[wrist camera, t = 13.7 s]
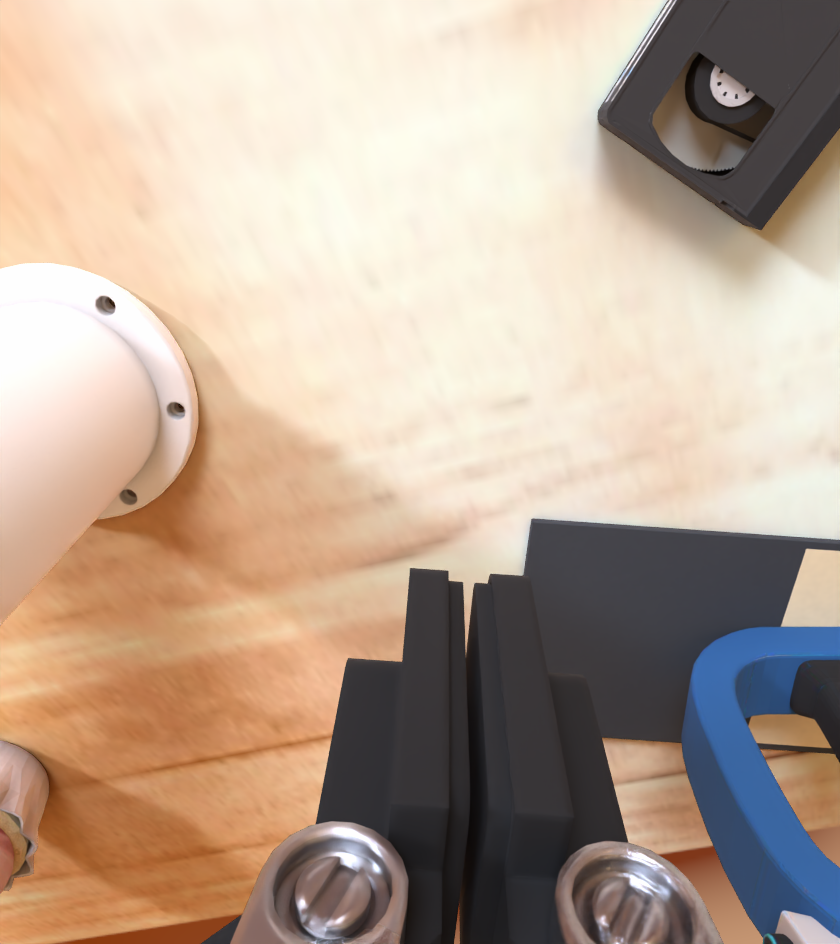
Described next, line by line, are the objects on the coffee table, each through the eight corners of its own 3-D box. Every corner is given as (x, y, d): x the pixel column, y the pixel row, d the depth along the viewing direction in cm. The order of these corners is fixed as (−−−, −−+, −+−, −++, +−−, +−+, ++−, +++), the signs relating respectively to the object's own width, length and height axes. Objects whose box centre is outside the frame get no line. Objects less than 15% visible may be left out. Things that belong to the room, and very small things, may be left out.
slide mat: (502, 725, 44) (502, 730, 43) (531, 518, 38) (532, 522, 38) (974, 759, 44) (979, 764, 43) (1078, 556, 38) (1084, 560, 37)
